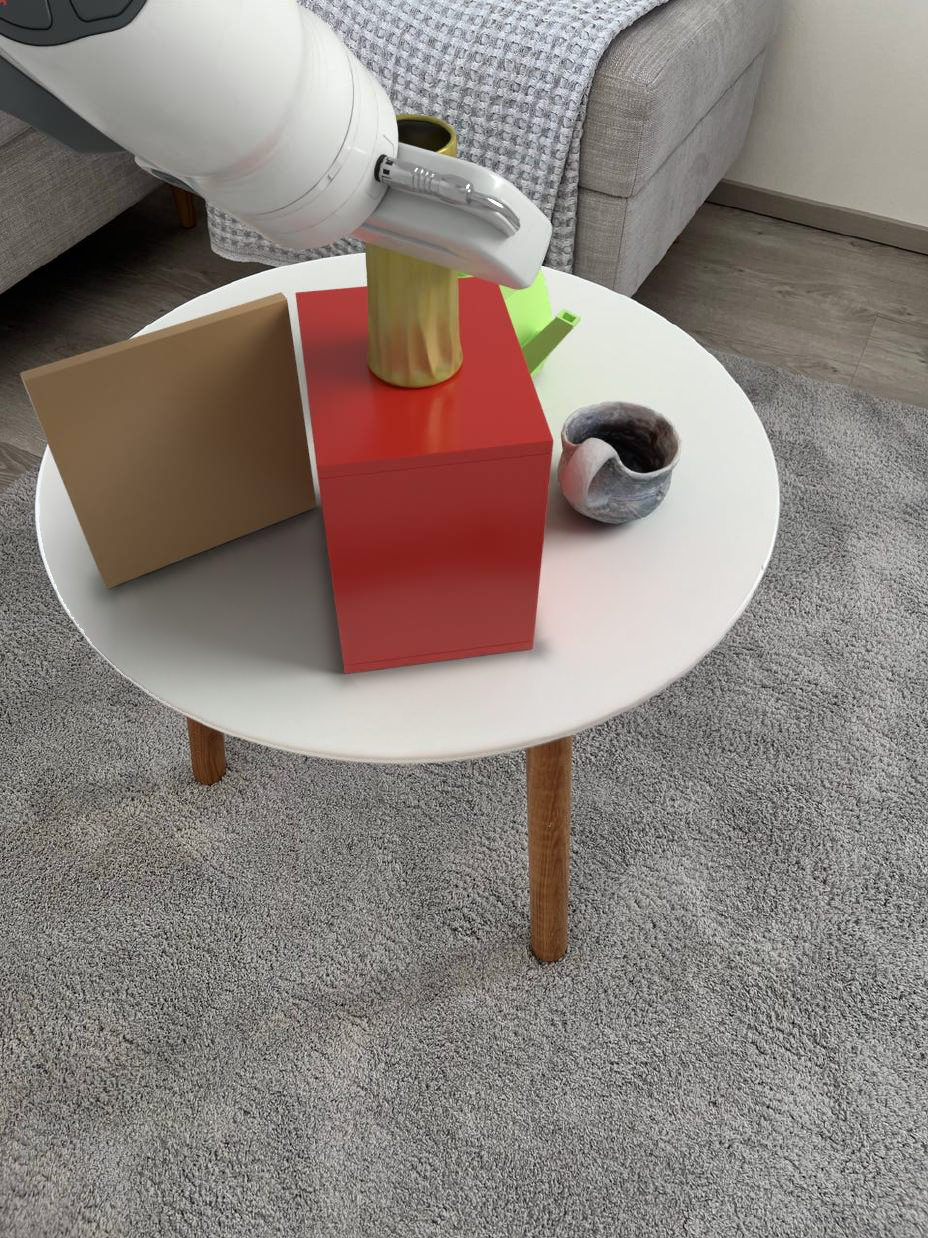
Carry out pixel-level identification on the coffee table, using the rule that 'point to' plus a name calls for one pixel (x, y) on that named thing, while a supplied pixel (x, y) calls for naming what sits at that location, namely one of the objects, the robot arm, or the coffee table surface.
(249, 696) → the coffee table surface
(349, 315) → the cabinet
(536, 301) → the teapot
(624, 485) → the mug
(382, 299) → the vase
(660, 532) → the coffee table surface
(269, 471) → the door
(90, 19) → the robot arm
